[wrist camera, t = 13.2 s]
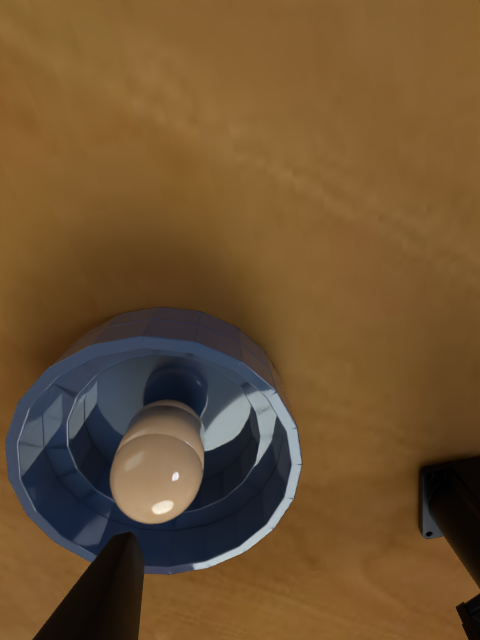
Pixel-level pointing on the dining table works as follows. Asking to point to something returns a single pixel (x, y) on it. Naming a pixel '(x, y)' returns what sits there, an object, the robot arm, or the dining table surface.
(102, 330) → the bowl
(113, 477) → the beige rounded peg
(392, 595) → the dining table surface
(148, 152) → the dining table surface
